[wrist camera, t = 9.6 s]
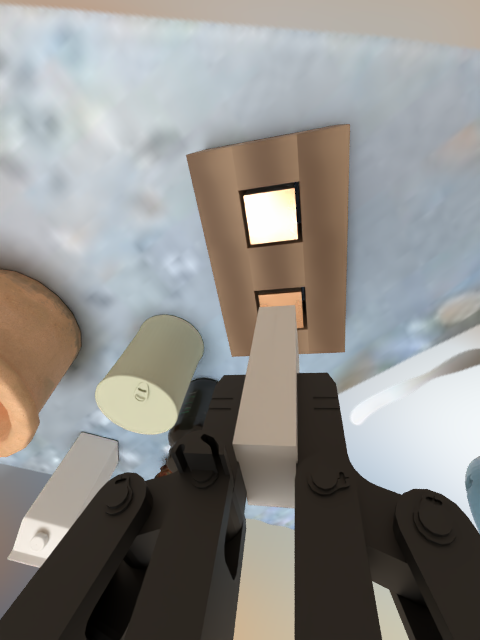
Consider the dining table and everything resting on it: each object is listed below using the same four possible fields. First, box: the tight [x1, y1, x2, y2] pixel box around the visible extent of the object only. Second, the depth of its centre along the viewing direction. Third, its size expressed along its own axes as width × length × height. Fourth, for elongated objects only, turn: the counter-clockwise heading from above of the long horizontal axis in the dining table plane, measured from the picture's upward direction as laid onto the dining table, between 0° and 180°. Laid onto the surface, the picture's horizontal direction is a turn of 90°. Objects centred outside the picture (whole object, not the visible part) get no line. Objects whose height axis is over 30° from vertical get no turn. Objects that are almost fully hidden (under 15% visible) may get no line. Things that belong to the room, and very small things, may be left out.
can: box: [95, 315, 204, 434], centre depth 37 cm, size 9×9×12 cm
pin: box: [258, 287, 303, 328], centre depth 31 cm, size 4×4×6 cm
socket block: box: [186, 124, 350, 357], centre depth 30 cm, size 12×20×6 cm, turn 10°
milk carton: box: [7, 432, 118, 568], centre depth 51 cm, size 7×7×19 cm
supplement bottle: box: [166, 379, 217, 473], centre depth 41 cm, size 7×7×12 cm
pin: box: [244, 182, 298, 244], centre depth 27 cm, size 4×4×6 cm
